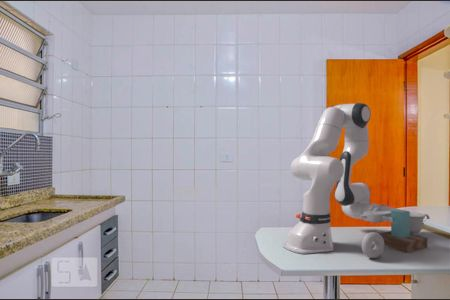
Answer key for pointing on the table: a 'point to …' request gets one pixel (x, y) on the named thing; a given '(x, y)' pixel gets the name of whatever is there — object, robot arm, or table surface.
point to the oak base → (404, 242)
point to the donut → (377, 248)
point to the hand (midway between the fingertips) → (400, 218)
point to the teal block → (400, 223)
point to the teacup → (416, 222)
